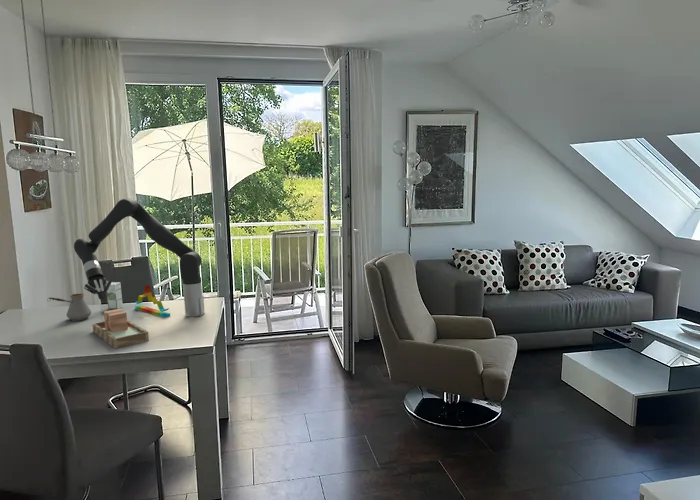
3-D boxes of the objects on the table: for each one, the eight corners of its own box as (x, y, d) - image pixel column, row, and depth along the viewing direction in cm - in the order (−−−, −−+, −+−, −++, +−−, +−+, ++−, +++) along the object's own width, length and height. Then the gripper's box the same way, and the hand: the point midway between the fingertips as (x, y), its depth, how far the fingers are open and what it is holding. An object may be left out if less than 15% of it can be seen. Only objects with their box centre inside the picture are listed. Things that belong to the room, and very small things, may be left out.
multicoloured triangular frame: (170, 316, 260) (168, 288, 258) (165, 318, 257) (163, 290, 255) (140, 308, 278) (138, 282, 276) (135, 309, 276) (132, 283, 274)
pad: (106, 339, 224) (105, 333, 224) (133, 333, 232) (133, 327, 232) (113, 344, 216) (112, 338, 216) (141, 338, 224) (140, 332, 224)
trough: (93, 331, 235) (92, 323, 235) (124, 325, 245) (123, 317, 244) (114, 348, 211) (113, 339, 210) (148, 340, 221) (148, 331, 220)
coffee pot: (81, 314, 267) (78, 287, 264) (96, 316, 262) (93, 289, 260) (43, 326, 247) (40, 296, 245) (59, 328, 243) (55, 298, 241)
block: (105, 328, 232) (103, 311, 231) (120, 324, 237) (119, 308, 236) (111, 332, 225) (110, 315, 224) (127, 329, 230) (126, 312, 228)
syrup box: (123, 306, 282) (120, 281, 280) (117, 309, 277) (115, 284, 274) (113, 306, 283) (111, 281, 281) (107, 309, 277) (105, 284, 275)
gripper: (79, 268, 244) (89, 297, 236) (108, 265, 252) (118, 292, 245) (78, 277, 248) (87, 305, 241) (106, 274, 257) (115, 300, 250)
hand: (102, 298), depth 243 cm, fingers closed
